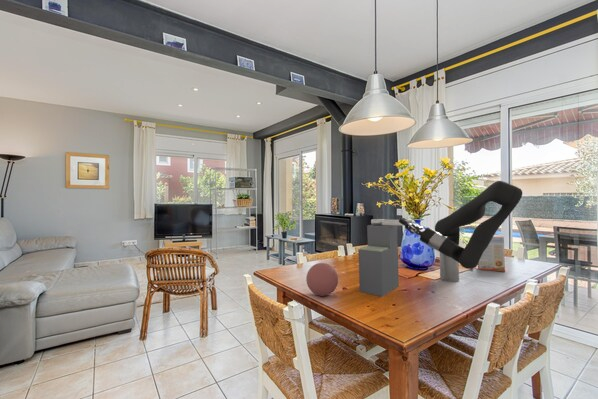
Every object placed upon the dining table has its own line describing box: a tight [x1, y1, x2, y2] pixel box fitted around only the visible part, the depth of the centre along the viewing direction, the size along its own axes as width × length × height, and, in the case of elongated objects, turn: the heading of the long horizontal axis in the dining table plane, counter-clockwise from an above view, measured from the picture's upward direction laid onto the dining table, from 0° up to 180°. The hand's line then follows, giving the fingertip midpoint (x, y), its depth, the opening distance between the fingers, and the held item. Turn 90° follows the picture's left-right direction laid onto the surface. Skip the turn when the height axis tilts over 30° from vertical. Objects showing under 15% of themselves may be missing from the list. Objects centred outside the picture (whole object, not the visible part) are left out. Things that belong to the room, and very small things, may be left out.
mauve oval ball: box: [305, 262, 339, 297], centre depth 139 cm, size 15×20×15 cm
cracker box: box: [477, 235, 506, 273], centre depth 175 cm, size 14×6×21 cm, turn 58°
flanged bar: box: [370, 218, 413, 226], centre depth 145 cm, size 6×21×2 cm, turn 50°
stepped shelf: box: [357, 224, 400, 298], centre depth 144 cm, size 20×12×32 cm, turn 140°
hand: (400, 219), depth 141 cm, fingers closed on flanged bar, 2 cm apart
